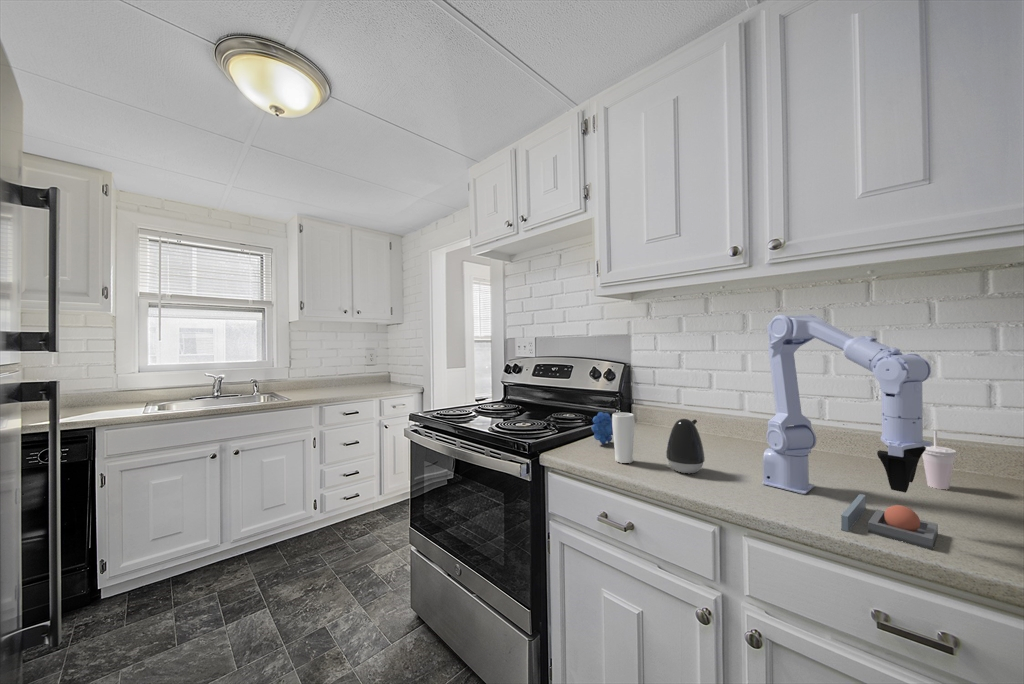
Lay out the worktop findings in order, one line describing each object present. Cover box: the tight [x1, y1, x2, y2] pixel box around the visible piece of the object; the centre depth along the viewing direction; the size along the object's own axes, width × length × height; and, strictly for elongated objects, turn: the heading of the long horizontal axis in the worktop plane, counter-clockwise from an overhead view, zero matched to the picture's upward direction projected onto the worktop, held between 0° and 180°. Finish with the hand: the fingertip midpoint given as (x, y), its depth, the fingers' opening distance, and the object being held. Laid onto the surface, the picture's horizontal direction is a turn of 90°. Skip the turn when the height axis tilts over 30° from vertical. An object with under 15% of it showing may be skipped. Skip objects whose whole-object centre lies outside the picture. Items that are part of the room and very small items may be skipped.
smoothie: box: [921, 430, 958, 491], centre depth 100 cm, size 6×6×14 cm
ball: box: [884, 504, 921, 532], centre depth 78 cm, size 5×5×5 cm
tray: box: [867, 509, 939, 551], centre depth 78 cm, size 9×9×2 cm
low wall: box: [840, 493, 867, 533], centre depth 85 cm, size 1×16×3 cm, turn 129°
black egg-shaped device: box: [665, 418, 706, 475], centre depth 116 cm, size 10×10×15 cm
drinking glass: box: [611, 411, 635, 464], centre depth 126 cm, size 7×7×15 cm
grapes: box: [591, 411, 613, 445], centre depth 146 cm, size 12×7×12 cm, turn 125°
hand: (902, 485), depth 78 cm, fingers open, 7 cm apart
